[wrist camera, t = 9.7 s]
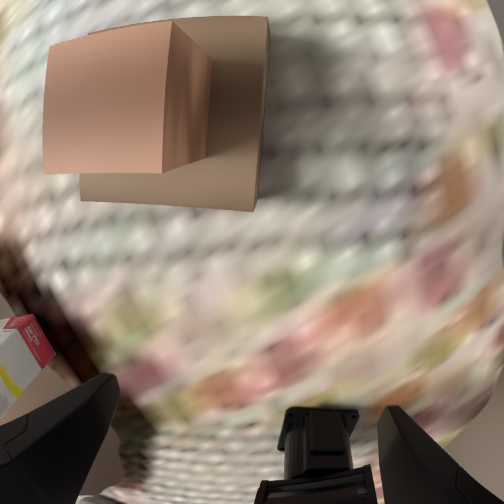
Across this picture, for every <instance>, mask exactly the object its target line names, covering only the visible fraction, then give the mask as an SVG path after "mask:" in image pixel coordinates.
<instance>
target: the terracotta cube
mask: <svg viewBox="0 0 504 504" xmlns="http://www.w3.org/2000/svg"><path fill="white" fill-rule="evenodd" d="M211 71H212V59H211V58H210V57H209V56H208V55H207V54H206V53H205V52H204V51H203V50H202V49H201V48H200V47H199V46H198V45H197V44H196V43H195V42H194V41H193V40H192V39H191V38H190V37H189V36H188V35H187V34H186V33H185V32H184V31H182V30H181V29H180V28H179V27H178V26H177V25H176V24H175V23H174V22H173V21H166V22H158V23H150V24H143V25H137V26H131V27H125V28H120V29H115V30H110V31H105V32H101V33H96V34H92V35H88V36H84V37H80V38H76V39H73V40H69V41H66V42H62V43H59V44H56V45H52V46H50V47H49V54H48V62H47V70H46V80H45V92H44V109H43V173H44V174H70V173H165V172H167V171H170V170H173V169H176V168H179V167H181V166H184V165H187V164H190V163H193V162H196V161H199V160H202V159H205V158H206V152H207V132H208V115H209V99H210V85H211Z"/></svg>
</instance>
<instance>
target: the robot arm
mask: <svg viewBox="0 0 504 504" xmlns="http://www.w3.org/2000/svg"><path fill="white" fill-rule="evenodd" d="M119 398H120V388H119V384H118V380H117V377H116V375H114V374H111V373H108V372H104V373H102V374H100V375H98V376H96V377H94V378H92V379H91V380H89V381H87V382H85V383H83V384H81V385H80V386H78V387H76V388H74V389H72V390H70V391H69V392H67V393H65V394H63V395H61V396H59V397H57V398H55V399H54V400H52V401H50V402H48V403H46V404H44V405H42V406H40V407H39V408H36V409H35V410H33V411H31V412H29V413H27V414H25V415H23V416H21V417H19V418H17V419H15V420H13V421H10V422H8V423H6V424H3V425H1V426H0V504H75V503H76V500H77V498H78V496H79V493H80V491H81V489H82V487H83V484H84V482H85V480H86V478H87V476H88V473H89V471H90V469H91V467H92V465H93V462H94V460H95V458H96V456H97V454H98V452H99V449H100V447H101V445H102V443H103V441H104V439H105V437H106V435H107V432H108V430H109V427H110V424H111V421H112V419H113V416H114V413H115V410H116V407H117V404H118V401H119ZM291 413H292V414H291ZM359 416H360V415H359V412H358V411H357V410H318V409H297V408H290V409H287V410H286V412H285V416H284V421H283V425H282V429H281V433H280V437H279V441H278V445H277V449H278V450H279V451H285V462H284V480H275V481H269V480H262V481H261V483H260V487H259V488H258V491H257V494H256V498H255V501H254V504H378V503H377V497H376V492H375V486H374V481H373V476H372V471H371V466H370V464H369V465H364V467H360V468H355V469H353V462H352V455H351V447H350V440H349V437H350V435H351V433H352V431H353V429H354V427H355V425H356V423H357V421H358V419H359ZM377 429H378V449H379V466H380V473H381V480H382V487H383V494H384V501H385V504H504V502H503V501H502V500H500V499H499V498H498V497H496V496H495V495H494V494H492V493H491V492H490V491H489V490H487V489H486V488H484V487H483V486H482V485H481V484H480V483H478V482H477V481H476V480H475V479H474V478H473V477H471V476H470V475H469V474H468V473H467V472H466V471H465V470H464V469H463V468H462V467H461V466H459V464H458V463H457V462H456V461H455V460H454V459H453V458H452V457H450V455H448V453H446V452H445V451H444V450H443V449H442V448H441V447H440V446H439V445H438V444H437V443H436V442H435V441H434V440H433V439H432V438H431V437H430V436H429V435H428V434H427V433H426V432H425V431H424V430H423V429H422V428H421V427H420V426H419V425H418V424H417V423H416V422H415V421H414V420H413V419H412V418H411V417H410V416H409V415H408V414H407V413H406V412H405V411H404V410H403V409H402V408H401V407H400V406H398V405H387V406H386V407H385V408H384V410H383V412H382V414H381V416H380V418H379V421H378V425H377Z"/></svg>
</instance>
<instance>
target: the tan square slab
mask: <svg viewBox="0 0 504 504" xmlns="http://www.w3.org/2000/svg"><path fill="white" fill-rule="evenodd" d="M166 21H173V22H174V23H175V24H176V25H177V26H178V27H179V28H180V29H181V30H182V31H184V32H185V33H186V34H187V35H188V36H189V37H190V38H191V39H192V40H193V41H194V42H195V43H196V44H197V45H198V46H199V47H200V48H201V49H202V50H203V51H204V52H205V53H206V54H207V55H208V56H209V57H210V58H211V59H212V71H211V85H210V99H209V115H208V132H207V152H206V158H205V159H202V160H199V161H196V162H193V163H190V164H187V165H184V166H181V167H179V168H176V169H173V170H170V171H167V172H165V173H80V196H81V201H94V202H117V203H136V204H153V205H169V206H184V207H198V208H211V209H224V210H236V211H247V212H253V211H254V208H255V206H256V203H257V200H258V189H259V176H260V162H261V149H262V136H263V123H264V110H265V96H266V83H267V70H268V56H269V43H270V30H269V22H268V17H260V16H211V17H192V18H179V19H169V20H160V21H152V22H145V23H138V24H132V25H126V26H121V27H116V28H111V29H106V30H101V31H97V32H93V33H88V35H92V34H96V33H101V32H105V31H110V30H115V29H120V28H125V27H131V26H137V25H143V24H150V23H158V22H166Z"/></svg>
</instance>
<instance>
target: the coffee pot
mask: <svg viewBox="0 0 504 504" xmlns="http://www.w3.org/2000/svg"><path fill="white" fill-rule="evenodd" d="M79 504H118V503H116V502H114V501H112V500H109V499H107V498H104V497H101V496H97V495H94V496H93V497H85V498H83V499H82V500H81V501H80V502H79Z"/></svg>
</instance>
